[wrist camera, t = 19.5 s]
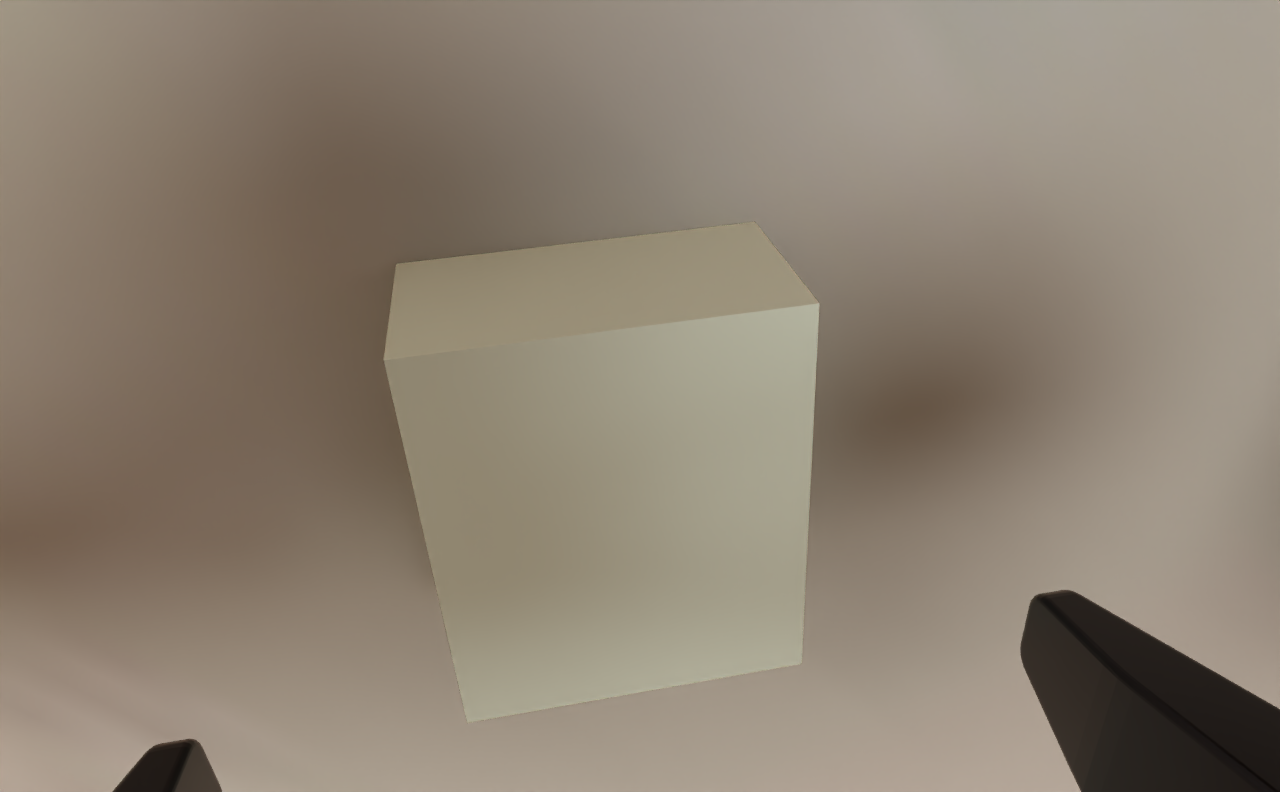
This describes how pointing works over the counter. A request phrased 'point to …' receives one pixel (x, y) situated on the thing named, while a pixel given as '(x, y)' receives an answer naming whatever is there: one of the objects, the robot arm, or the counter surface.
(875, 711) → the counter surface
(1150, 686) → the robot arm
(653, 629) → the pale green carton
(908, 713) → the counter surface
